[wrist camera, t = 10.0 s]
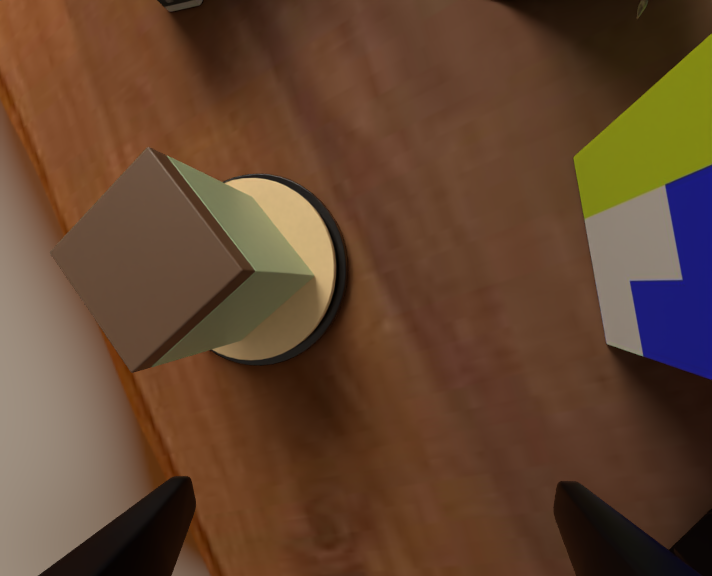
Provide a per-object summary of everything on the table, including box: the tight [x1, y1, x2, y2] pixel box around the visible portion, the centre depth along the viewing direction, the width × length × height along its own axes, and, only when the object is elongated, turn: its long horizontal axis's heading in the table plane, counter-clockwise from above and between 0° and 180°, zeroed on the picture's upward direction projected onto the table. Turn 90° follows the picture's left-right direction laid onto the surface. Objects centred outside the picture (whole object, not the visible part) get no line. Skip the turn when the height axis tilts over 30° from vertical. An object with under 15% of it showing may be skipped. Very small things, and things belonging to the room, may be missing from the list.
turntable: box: [211, 174, 348, 365], centre depth 22 cm, size 12×12×1 cm
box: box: [50, 147, 336, 373], centre depth 18 cm, size 11×11×8 cm
